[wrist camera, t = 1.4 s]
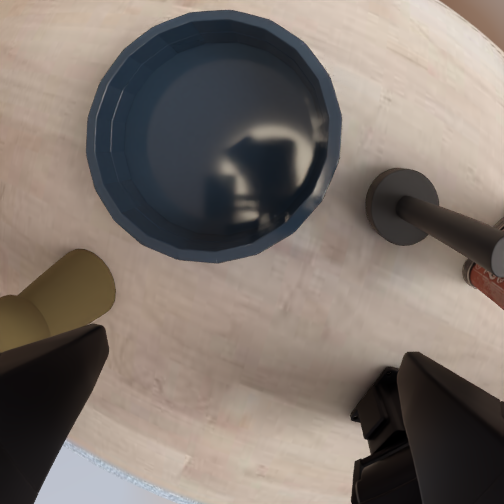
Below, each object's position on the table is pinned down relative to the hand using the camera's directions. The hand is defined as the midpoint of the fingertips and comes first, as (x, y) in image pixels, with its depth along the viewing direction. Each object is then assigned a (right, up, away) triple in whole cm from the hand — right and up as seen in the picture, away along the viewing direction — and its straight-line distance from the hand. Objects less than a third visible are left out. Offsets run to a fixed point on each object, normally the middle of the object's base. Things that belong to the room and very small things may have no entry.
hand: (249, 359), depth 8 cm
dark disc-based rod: (+10, +6, +11) cm, 16 cm away
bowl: (-2, +11, +11) cm, 16 cm away
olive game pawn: (-14, 0, +16) cm, 21 cm away
